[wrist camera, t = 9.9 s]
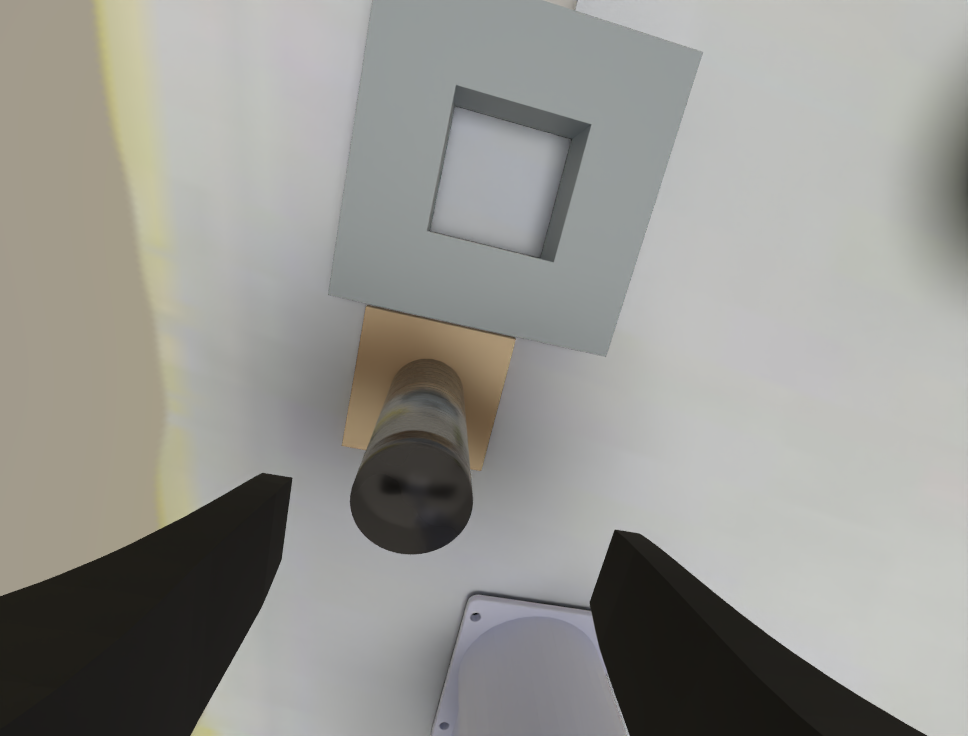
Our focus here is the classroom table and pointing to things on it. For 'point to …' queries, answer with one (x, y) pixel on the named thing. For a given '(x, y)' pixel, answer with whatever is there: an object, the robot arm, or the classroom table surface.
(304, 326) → the classroom table surface
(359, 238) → the block
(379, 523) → the shiny metal cylinder
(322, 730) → the classroom table surface
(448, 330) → the pad
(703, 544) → the classroom table surface
